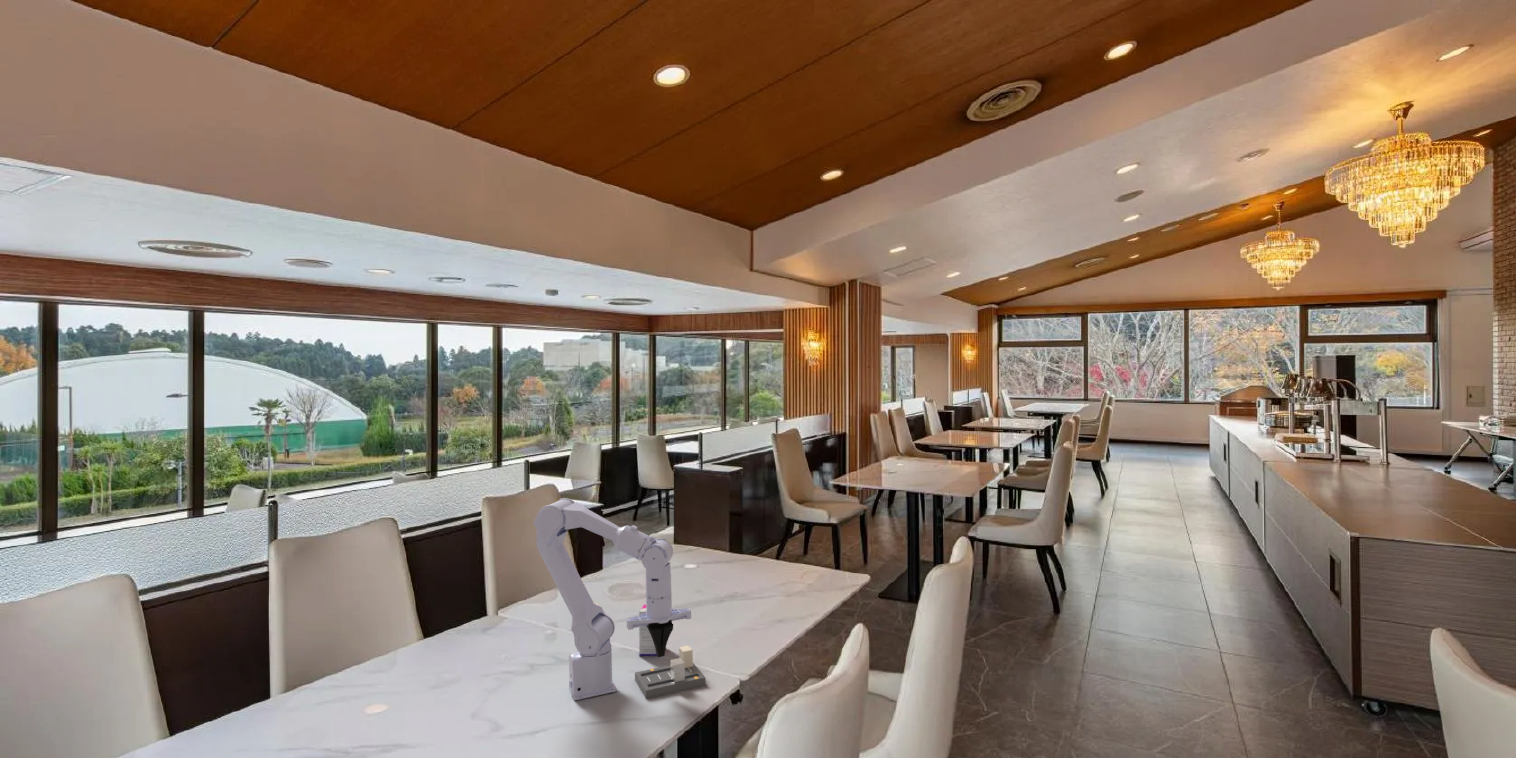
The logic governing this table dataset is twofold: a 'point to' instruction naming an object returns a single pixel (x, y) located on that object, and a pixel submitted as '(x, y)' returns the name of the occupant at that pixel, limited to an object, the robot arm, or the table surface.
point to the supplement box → (645, 639)
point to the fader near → (677, 670)
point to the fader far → (686, 656)
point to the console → (667, 681)
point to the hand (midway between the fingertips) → (660, 654)
